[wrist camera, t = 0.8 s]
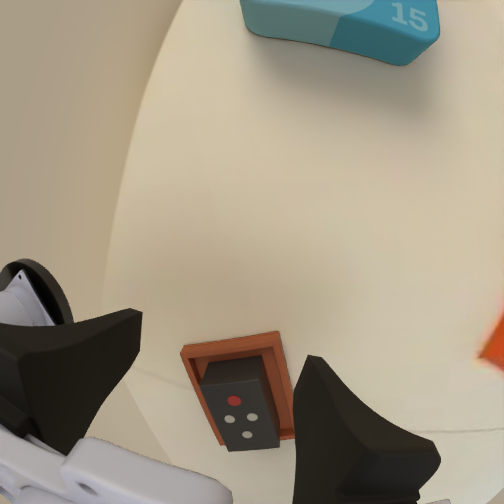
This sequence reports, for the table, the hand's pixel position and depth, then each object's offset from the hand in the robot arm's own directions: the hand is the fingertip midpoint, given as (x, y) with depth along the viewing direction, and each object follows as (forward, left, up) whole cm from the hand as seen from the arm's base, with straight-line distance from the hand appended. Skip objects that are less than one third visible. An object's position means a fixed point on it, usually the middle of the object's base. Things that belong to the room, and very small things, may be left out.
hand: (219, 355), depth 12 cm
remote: (-4, -7, -8) cm, 11 cm away
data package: (+14, +10, -6) cm, 18 cm away
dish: (-4, -7, -8) cm, 12 cm away
